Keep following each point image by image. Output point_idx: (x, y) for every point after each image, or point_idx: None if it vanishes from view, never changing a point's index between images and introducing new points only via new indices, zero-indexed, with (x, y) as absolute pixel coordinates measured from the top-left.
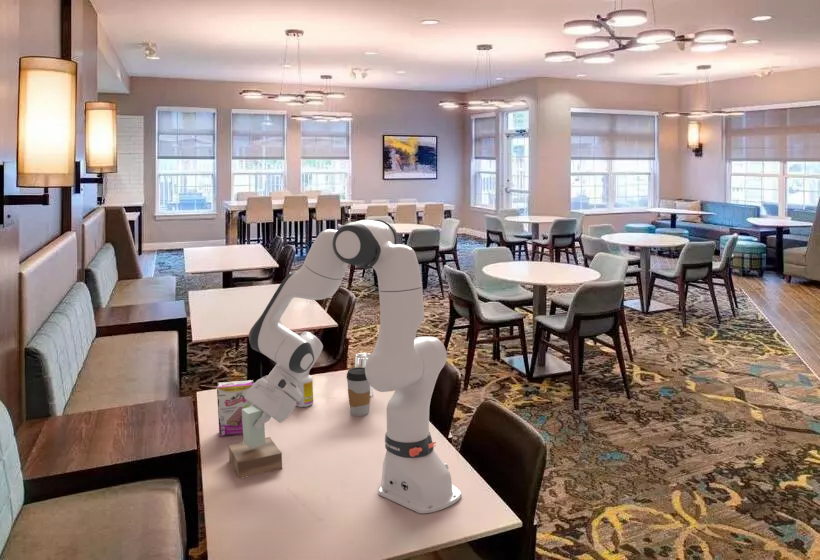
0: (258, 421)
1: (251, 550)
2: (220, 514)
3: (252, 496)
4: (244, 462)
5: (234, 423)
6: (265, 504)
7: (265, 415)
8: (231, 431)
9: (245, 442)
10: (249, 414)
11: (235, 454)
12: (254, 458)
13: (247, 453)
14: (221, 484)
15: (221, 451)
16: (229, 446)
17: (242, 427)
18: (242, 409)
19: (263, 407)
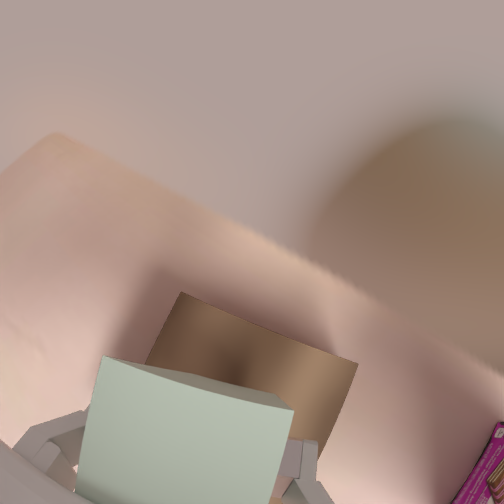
0: (86, 411)
1: (12, 166)
2: (105, 176)
3: (88, 265)
4: (170, 315)
5: (498, 472)
6: (45, 260)
7: (22, 441)
8: (487, 457)
9: (249, 388)
10: (103, 367)
11: (253, 331)
12: (153, 355)
13: (216, 370)
14: (211, 251)
15: (420, 383)
16: (346, 361)
17: (473, 493)
18: (273, 410)
19: (26, 488)
